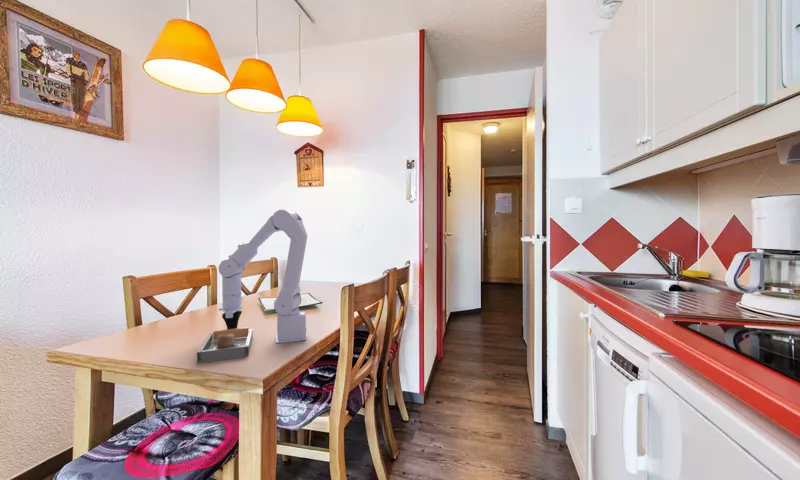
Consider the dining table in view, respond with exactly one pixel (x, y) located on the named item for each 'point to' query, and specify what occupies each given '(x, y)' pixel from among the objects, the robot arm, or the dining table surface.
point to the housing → (224, 349)
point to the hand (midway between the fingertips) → (232, 333)
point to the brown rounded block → (225, 341)
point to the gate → (232, 332)
